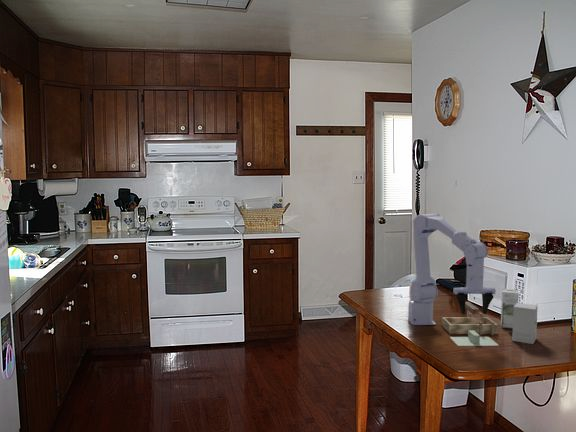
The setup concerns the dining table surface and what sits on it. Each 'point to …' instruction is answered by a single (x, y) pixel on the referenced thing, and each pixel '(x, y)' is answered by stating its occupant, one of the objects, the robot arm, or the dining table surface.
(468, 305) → the light brown wooden bar
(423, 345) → the dining table surface
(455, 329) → the tan wooden frame
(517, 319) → the supplement box
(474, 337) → the lid
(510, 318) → the syrup box
